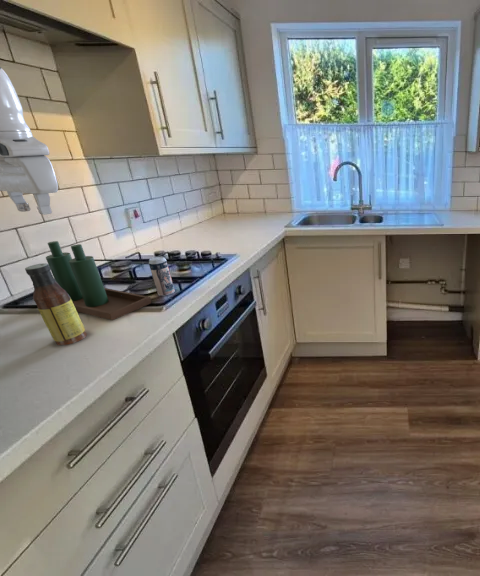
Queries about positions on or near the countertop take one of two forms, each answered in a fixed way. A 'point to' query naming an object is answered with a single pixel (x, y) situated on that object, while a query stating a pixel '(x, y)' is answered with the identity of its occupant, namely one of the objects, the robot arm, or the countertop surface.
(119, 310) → the tray
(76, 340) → the sauce bottle
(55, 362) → the countertop surface
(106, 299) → the green bottle
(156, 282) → the beer can
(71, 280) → the green bottle
